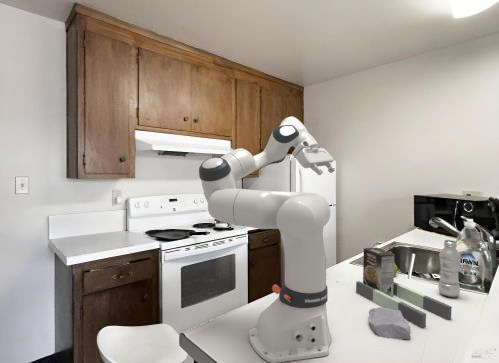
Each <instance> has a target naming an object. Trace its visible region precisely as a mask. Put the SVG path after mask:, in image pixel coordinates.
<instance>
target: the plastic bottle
mask: <svg viewBox="0 0 499 363" xmlns="http://www.w3.org/2000/svg"><path fill="white" fill-rule="evenodd" d="M457 245H458V244H457V241H456V240H450V239H445V240H444V242H443V248H441V250H440V251H439V254H438V256H439V262H440V263H439V264H440V275H439V281H438V286H437V287H438V291H439V293H440V294H441V295H443V296H444V297H450V298H457V297H459V296H460V293H461V287H460V281H459V280H460V279H459V271H460V270H459V269H460V265H461V264H460V263H461V260H462V257H461V256H462V255H461V254H460V252H459V250H458V249H457V248H458V246H457Z"/></svg>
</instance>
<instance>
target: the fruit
mask: <svg viewBox="0 0 499 363" xmlns="http://www.w3.org/2000/svg"><path fill="white" fill-rule="evenodd" d="M388 250H389V252H390V253H393V252H392V250H391V248H390V247H388ZM397 273H398V266H397V265H396V262H394V276H395V275H396V274H397Z"/></svg>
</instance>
